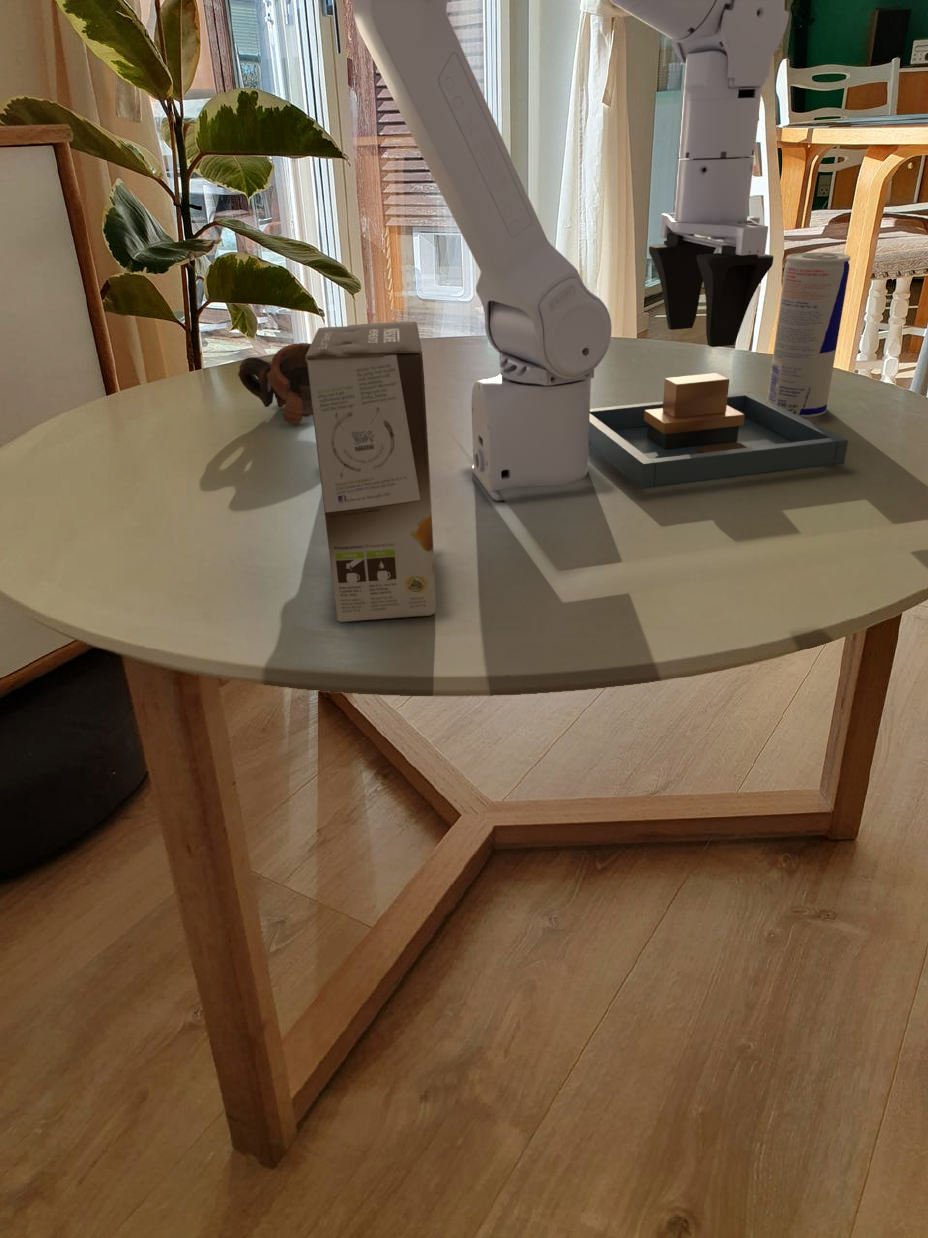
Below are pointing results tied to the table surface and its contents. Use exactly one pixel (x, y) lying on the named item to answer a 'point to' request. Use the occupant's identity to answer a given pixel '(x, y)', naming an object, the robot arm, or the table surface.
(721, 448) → the mud patch
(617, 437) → the tray
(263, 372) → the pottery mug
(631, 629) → the table surface
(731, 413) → the brush
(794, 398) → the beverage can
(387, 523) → the coffee box
